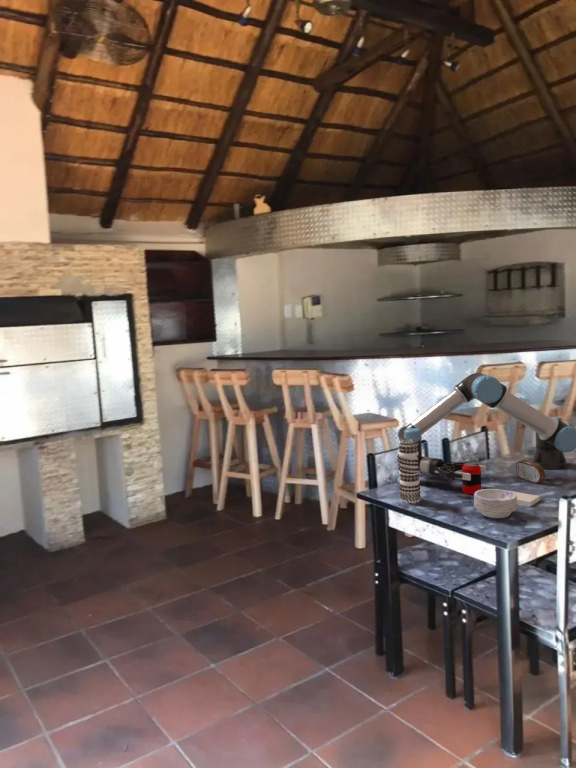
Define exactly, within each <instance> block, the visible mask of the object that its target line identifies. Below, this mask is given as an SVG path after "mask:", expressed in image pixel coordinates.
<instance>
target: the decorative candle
mask: <svg viewBox="0 0 576 768" xmlns="http://www.w3.org/2000/svg"><path fill="white" fill-rule="evenodd" d="M397 446H398V454H397V455H396V456H397V457H396V458H397V462H398V463H397V468H398V473H399V485H398V486H399V492H398V493H399V499H400V498H401V500H403V501H404V502H405V501H406V502H409V503H412V504H415V503H414V502H418V503H420V502H421V501H422V500H421V483H420V475H419V474H421V473H420V471H419V470H420V468H419V467H418V466H419V465H420V463H419V461H420V459H418V457H420V454H418V443H416V441H415V440H412V439H406V440H402V441H400V442H399V443H398V444H397ZM420 500H421V501H420ZM419 501H420V502H419ZM409 503H408V504H409Z"/></svg>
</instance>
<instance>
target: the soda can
mask: <svg viewBox="0 0 576 768" xmlns="http://www.w3.org/2000/svg"><path fill="white" fill-rule="evenodd" d="M464 463H465V464H464V466H463V467H462V470H461V472H462V473H469V474H471V480H470V481H469V480H463V479H461V480H462V481H461V482H462V492H463V493H464V494H465V495H467V496H468V495H470V496H474V493H475V492H476V491H478V490H482V472H481V467H480V466H479V463H477V462H472V463H471V462H464Z"/></svg>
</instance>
